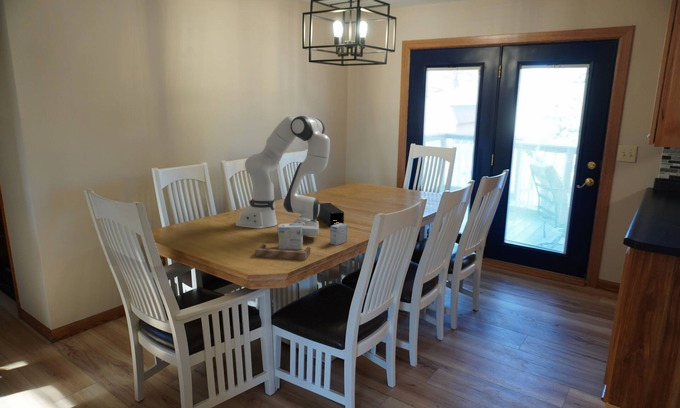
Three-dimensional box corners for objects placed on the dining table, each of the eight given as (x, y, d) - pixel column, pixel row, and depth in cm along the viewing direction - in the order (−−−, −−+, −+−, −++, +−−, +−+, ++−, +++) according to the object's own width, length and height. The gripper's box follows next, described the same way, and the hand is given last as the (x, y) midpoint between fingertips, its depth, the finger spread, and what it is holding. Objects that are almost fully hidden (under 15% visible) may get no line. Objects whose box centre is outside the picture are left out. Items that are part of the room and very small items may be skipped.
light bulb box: (302, 245, 205) (302, 222, 203) (302, 249, 198) (301, 226, 196) (279, 245, 204) (279, 222, 202) (278, 249, 198) (277, 226, 196)
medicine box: (340, 239, 214) (340, 222, 212) (347, 241, 211) (347, 224, 209) (329, 243, 208) (329, 225, 206) (337, 245, 205) (337, 227, 203)
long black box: (330, 213, 234) (316, 202, 260) (330, 227, 236) (316, 215, 262) (344, 212, 237) (328, 201, 263) (344, 226, 239) (328, 214, 264)
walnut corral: (256, 256, 189) (255, 249, 188) (262, 250, 197) (262, 244, 196) (305, 259, 185) (305, 253, 184) (310, 253, 193) (310, 247, 192)
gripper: (281, 219, 219) (272, 226, 206) (321, 221, 216) (314, 228, 202) (281, 231, 221) (272, 239, 207) (321, 233, 217) (315, 241, 204)
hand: (293, 234), depth 205 cm, fingers closed
